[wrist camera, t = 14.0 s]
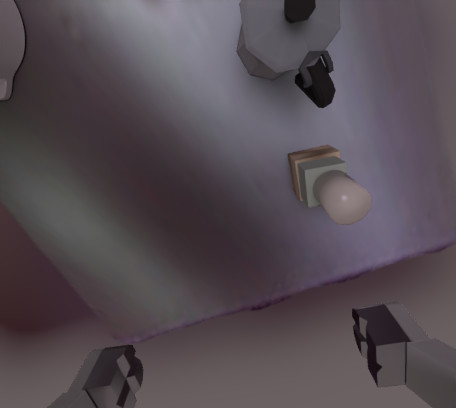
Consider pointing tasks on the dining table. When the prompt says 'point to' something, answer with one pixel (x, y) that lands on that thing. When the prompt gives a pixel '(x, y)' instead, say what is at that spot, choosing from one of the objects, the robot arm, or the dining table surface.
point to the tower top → (316, 175)
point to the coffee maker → (291, 42)
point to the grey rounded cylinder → (342, 197)
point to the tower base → (306, 156)
